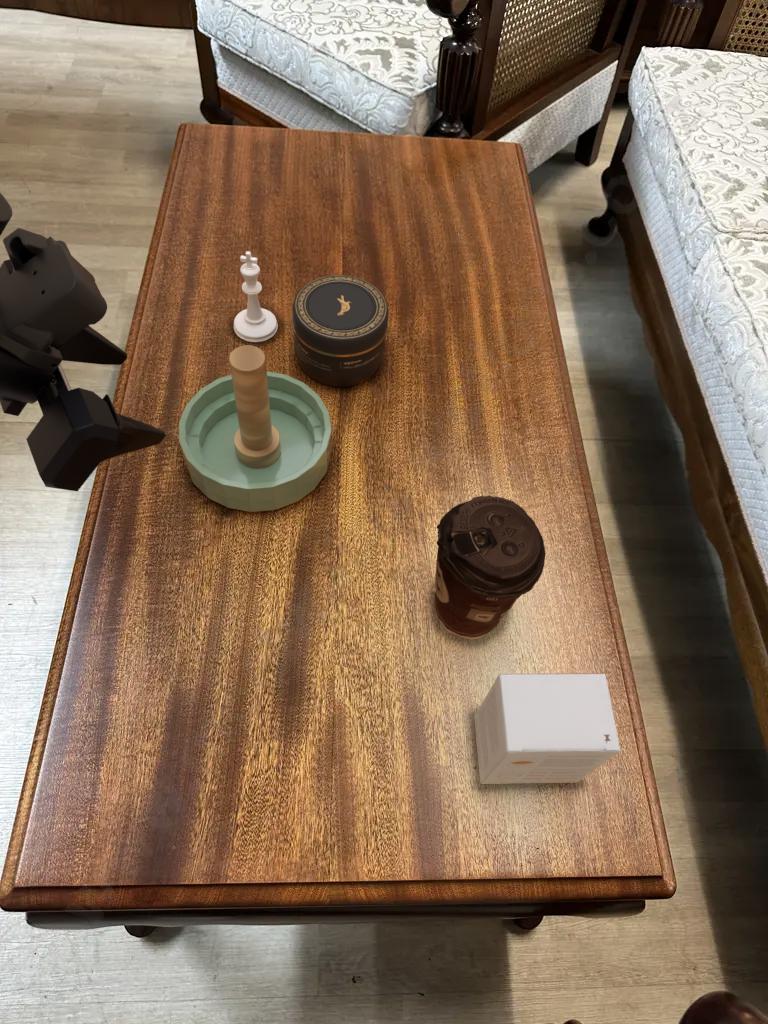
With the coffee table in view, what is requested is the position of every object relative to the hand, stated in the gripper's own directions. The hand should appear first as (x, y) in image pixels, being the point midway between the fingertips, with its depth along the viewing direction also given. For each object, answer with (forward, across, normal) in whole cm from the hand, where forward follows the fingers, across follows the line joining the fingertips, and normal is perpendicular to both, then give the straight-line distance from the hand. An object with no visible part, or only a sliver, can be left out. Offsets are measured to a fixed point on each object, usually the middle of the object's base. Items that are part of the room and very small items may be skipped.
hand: (142, 397), depth 58 cm
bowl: (+16, 0, +3) cm, 16 cm away
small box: (+21, -36, -2) cm, 42 cm away
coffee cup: (+23, -24, -4) cm, 33 cm away
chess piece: (+21, +17, -2) cm, 27 cm away
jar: (+25, +8, -6) cm, 27 cm away
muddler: (+15, 0, +2) cm, 15 cm away
